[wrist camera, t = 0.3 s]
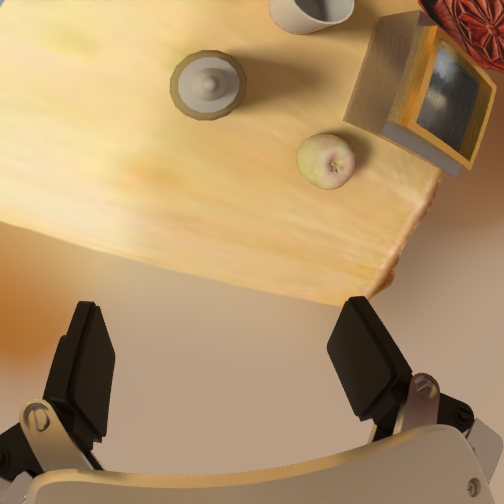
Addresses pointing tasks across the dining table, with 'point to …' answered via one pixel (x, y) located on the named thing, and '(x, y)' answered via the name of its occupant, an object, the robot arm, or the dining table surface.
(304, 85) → the dining table surface
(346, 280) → the dining table surface
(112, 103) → the dining table surface
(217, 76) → the squeeze bottle
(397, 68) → the box
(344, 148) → the fruit
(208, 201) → the dining table surface
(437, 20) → the vase
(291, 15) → the cup
